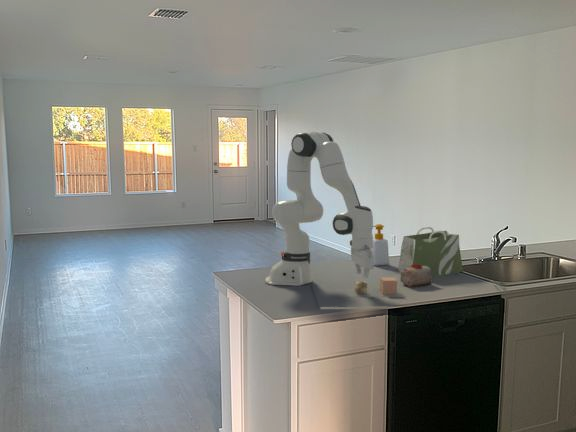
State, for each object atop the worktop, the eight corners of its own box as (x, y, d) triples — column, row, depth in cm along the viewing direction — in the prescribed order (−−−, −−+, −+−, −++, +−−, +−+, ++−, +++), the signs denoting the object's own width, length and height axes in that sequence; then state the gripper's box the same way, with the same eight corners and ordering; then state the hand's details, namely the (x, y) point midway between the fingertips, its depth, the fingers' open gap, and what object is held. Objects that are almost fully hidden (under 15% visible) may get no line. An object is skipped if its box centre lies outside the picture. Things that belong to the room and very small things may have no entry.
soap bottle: (359, 263, 308) (360, 223, 305) (382, 262, 312) (383, 222, 309) (367, 266, 299) (367, 226, 296) (390, 265, 303) (391, 225, 300)
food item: (409, 288, 254) (409, 267, 253) (398, 284, 261) (399, 263, 260) (433, 285, 260) (433, 264, 258) (422, 281, 267) (422, 261, 266)
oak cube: (356, 294, 239) (356, 283, 238) (354, 291, 243) (355, 281, 243) (367, 294, 239) (367, 283, 238) (365, 291, 243) (365, 281, 243)
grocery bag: (412, 278, 274) (414, 231, 271) (396, 272, 286) (398, 227, 283) (464, 272, 286) (466, 228, 283) (446, 267, 299) (448, 224, 296)
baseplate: (349, 299, 234) (349, 297, 234) (344, 290, 248) (344, 288, 248) (405, 298, 235) (406, 296, 235) (397, 290, 249) (398, 288, 249)
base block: (382, 294, 238) (383, 280, 238) (380, 290, 244) (380, 277, 244) (396, 294, 239) (397, 280, 238) (393, 290, 245) (393, 277, 244)
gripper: (377, 247, 229) (377, 280, 230) (362, 240, 249) (361, 270, 250) (363, 247, 228) (362, 281, 229) (348, 240, 248) (348, 271, 249)
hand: (362, 275), depth 240 cm, fingers open, 8 cm apart
